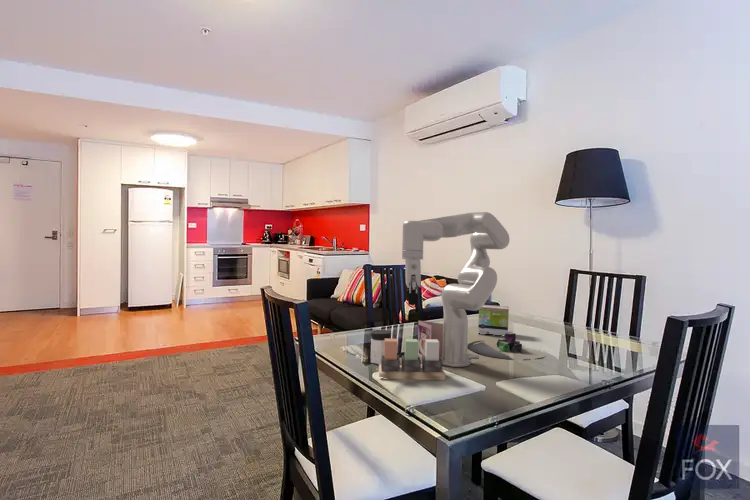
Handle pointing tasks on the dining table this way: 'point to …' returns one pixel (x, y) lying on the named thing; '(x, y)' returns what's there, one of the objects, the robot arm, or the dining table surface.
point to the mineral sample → (503, 344)
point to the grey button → (431, 350)
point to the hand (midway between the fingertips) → (411, 302)
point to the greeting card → (429, 336)
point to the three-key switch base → (411, 369)
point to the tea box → (493, 320)
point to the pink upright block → (390, 349)
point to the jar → (378, 344)
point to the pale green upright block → (411, 349)
